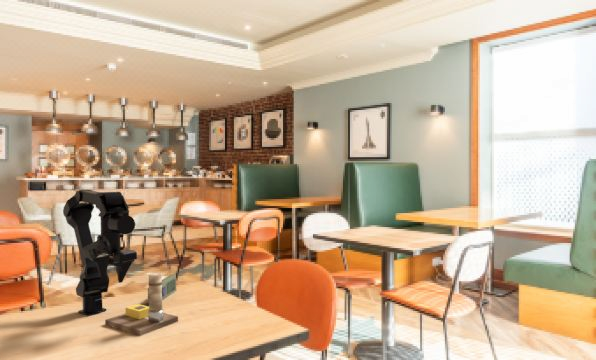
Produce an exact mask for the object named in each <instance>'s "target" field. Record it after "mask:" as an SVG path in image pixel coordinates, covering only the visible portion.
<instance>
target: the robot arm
mask: <svg viewBox="0 0 596 360" xmlns="http://www.w3.org/2000/svg"><path fill="white" fill-rule="evenodd" d="M94 205H95V206H94ZM95 208H96V209H98V210H99V213H98V217H100V234H98V235H97V236H96V240H95V241H93V236H92V232H91V228H90V221H91V218H92V217H93V215H92V214H93V213H92V212H94V209H95ZM62 211H63V212H62V214H63V216H64V217H65V220H66V223H67V224H68V226H69V227H71V228H72V229H73V231H74V234H75V240H76V244H77V247H78V252H79V256H80V260H81V265H82V269H81V272H80V274H79V282H78V283H77V286H76V287H75V292H76V294H75V295H76V296H78V297H80V298H82V309H80V310H77V311H78V313H79V314H83V315H86V316H92V315H96V314H98V313H102V312H106V311H107V308H105V307H103V293H108V291H109V284H110V278H109V275H108V272H107V271H108V267H109V266H108V265H109V262H110V258H111V257H112V260H113V261H112V263H113V265H114V266H115V267H116V273H117V274H116V275H117V281H118V283H119V284H120V283H123V282H124V279H125V278H126V275H127V273H128V271H129V269H130V267H131V265H132V264H133V263H134V262H135V260H137V259H138V253H137V251H136V250H135V249H128V248H127V249H125V247H124V246H121V245H122V244H121V242H122V240H121V238H124V235H129V234H131V233H132V232H133V231H134V230H135V228H136V221H135V219H134V218H133V217H132V216H131V215H130V213H129V212H130V210H129V205H128V203H127V201H126V199H125V197H124V195H123V193H122V192H121V191H104V192H101V191H96V190H92V189H79V190H76V192H75V194H74V195H73V196H72V197H70V198H68V199H67V200H66V201H65V205H63V209H62Z"/></svg>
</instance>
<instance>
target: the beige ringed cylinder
mask: <svg viewBox="0 0 596 360" xmlns="http://www.w3.org/2000/svg"><path fill="white" fill-rule="evenodd" d="M162 276H163V275H162V273H151V274H148V288H149V311H148V321H149V322H151V323H156V322H161V321H163V313H164V309H163V300H162V280H163V277H162Z"/></svg>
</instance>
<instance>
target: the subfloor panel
mask: <svg viewBox="0 0 596 360" xmlns="http://www.w3.org/2000/svg"><path fill="white" fill-rule="evenodd" d="M178 321H179V316H177V315H174V314H173V315H172V314H168V313H166V312H163V321H161V322H156V323H151V322H149V321H148V317H145V318H142V319H137V318H133V317H130V316H126V313H122V314H119V315H116V316H113V317H109V318H106V319H104V324H105V325H106V326H109V327H112V328H114V329H118V330H121V331H124V332H128V333H131V334H134V335H137V336H143V335H146V334H148V333H151V332H154V331H156V330H159V329H162V328H165V327H167V326H169V325H173V324H175V323H177V322H178Z"/></svg>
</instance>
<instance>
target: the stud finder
mask: <svg viewBox="0 0 596 360" xmlns="http://www.w3.org/2000/svg"><path fill="white" fill-rule="evenodd" d="M144 305H145V304H139V303H135V304H132V305H130V306H126V307H125V308H124V309H125V310H124V311H125V313H126V316H130V317H133V318H137V319H142V318H145V317H148V311H149V307H148V306H144ZM125 313H124V314H125Z"/></svg>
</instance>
